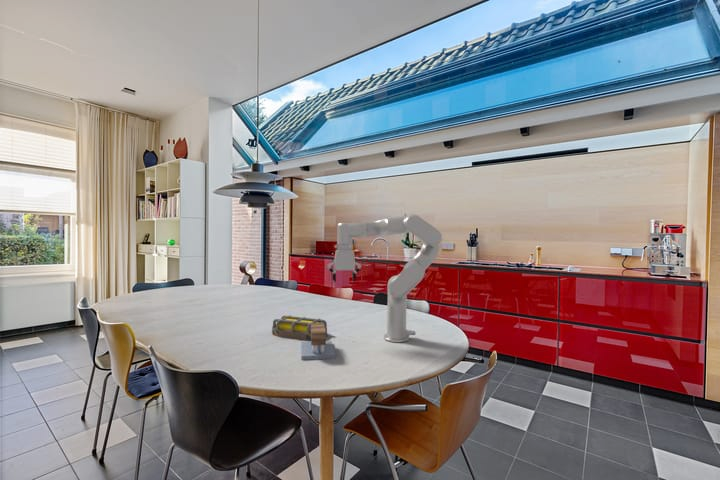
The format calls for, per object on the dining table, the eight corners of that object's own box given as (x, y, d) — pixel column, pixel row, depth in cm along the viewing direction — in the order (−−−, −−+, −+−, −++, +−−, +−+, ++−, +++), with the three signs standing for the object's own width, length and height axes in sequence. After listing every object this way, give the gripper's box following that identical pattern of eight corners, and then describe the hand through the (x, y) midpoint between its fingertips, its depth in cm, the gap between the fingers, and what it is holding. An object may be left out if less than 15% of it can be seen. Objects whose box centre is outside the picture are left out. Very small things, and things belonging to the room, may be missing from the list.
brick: (325, 344, 138) (325, 332, 138) (311, 345, 137) (311, 333, 137) (323, 333, 154) (323, 322, 154) (310, 333, 153) (310, 323, 153)
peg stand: (331, 343, 156) (331, 332, 155) (335, 358, 138) (335, 345, 138) (301, 345, 153) (301, 333, 153) (301, 359, 135) (301, 346, 135)
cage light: (282, 313, 181) (331, 318, 171) (282, 327, 181) (331, 333, 172) (266, 319, 167) (319, 326, 158) (266, 335, 168) (319, 342, 158)
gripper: (328, 247, 159) (327, 282, 160) (362, 247, 163) (362, 282, 163) (326, 247, 167) (326, 280, 167) (360, 247, 170) (359, 280, 170)
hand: (344, 281), depth 165 cm, fingers open, 9 cm apart
